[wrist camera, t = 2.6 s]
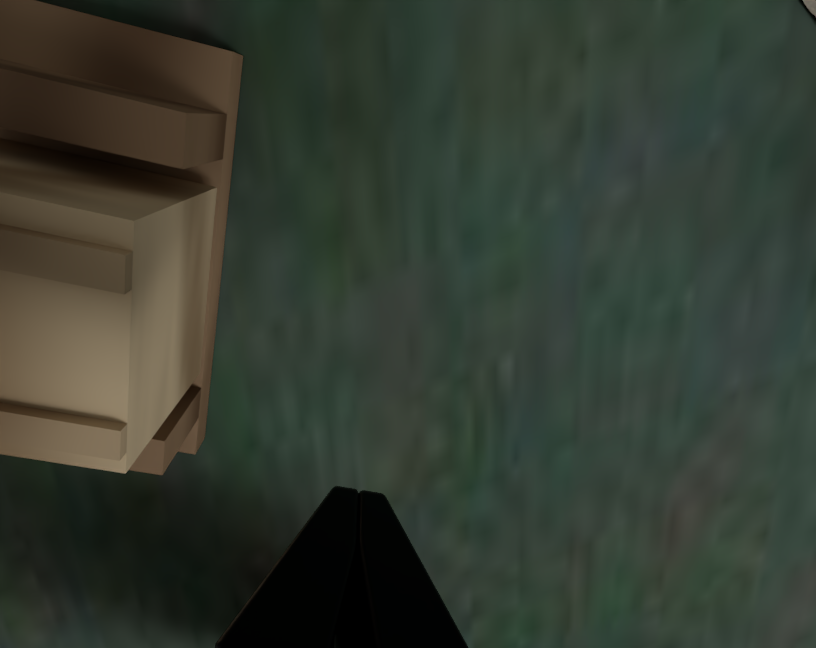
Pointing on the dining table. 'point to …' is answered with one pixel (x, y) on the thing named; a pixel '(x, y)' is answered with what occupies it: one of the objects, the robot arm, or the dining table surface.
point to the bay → (128, 134)
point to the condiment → (811, 6)
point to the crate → (96, 304)
